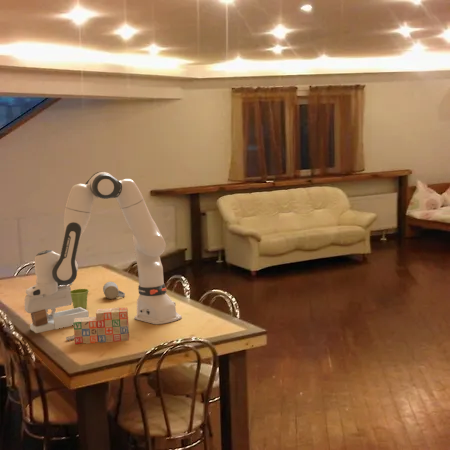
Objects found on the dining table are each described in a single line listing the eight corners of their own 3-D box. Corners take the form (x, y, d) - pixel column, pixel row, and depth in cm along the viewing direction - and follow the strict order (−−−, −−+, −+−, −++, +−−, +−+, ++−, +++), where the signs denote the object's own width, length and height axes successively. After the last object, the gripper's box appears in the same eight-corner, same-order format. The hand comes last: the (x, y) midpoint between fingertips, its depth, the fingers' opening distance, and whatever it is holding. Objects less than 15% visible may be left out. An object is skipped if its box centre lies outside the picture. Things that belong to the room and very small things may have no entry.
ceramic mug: (104, 300, 318) (104, 285, 317) (103, 296, 326) (102, 282, 325) (126, 298, 321) (125, 283, 320) (124, 294, 329) (123, 280, 328)
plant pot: (70, 312, 300) (69, 294, 298) (69, 307, 309) (68, 289, 307) (90, 309, 302) (89, 292, 301) (89, 305, 311) (88, 287, 310)
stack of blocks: (74, 344, 252) (72, 314, 250) (76, 339, 258) (74, 310, 256) (128, 340, 254) (126, 310, 252) (129, 335, 260) (127, 306, 258)
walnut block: (47, 322, 273) (45, 309, 272) (36, 326, 270) (34, 313, 269) (43, 320, 277) (41, 307, 276) (32, 324, 274) (30, 310, 273)
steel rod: (98, 334, 266) (97, 330, 266) (100, 333, 264) (99, 329, 265) (67, 341, 258) (65, 337, 258) (68, 340, 256) (67, 336, 256)
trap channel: (89, 321, 282) (88, 310, 282) (36, 333, 269) (35, 322, 268) (81, 317, 289) (80, 307, 288) (30, 329, 275) (28, 317, 275)
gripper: (67, 282, 283) (70, 312, 285) (21, 290, 271) (24, 322, 273) (72, 284, 278) (75, 315, 279) (26, 293, 266) (29, 325, 268)
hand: (50, 318), depth 276 cm, fingers closed
